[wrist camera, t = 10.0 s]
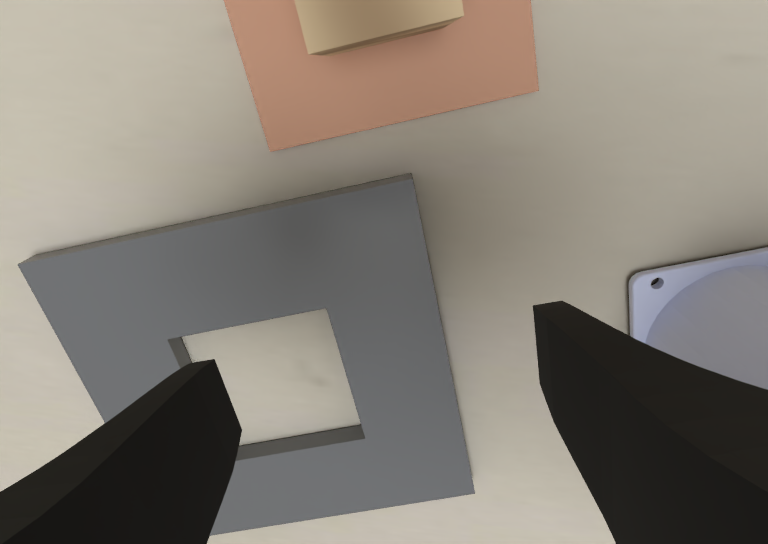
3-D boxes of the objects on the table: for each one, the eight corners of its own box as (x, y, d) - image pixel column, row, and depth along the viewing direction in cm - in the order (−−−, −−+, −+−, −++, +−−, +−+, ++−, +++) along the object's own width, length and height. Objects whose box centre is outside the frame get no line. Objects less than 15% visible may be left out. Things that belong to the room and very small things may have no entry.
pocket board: (411, 173, 19) (412, 178, 18) (471, 477, 25) (475, 493, 24) (34, 255, 20) (17, 264, 20) (178, 525, 27) (170, 541, 26)
